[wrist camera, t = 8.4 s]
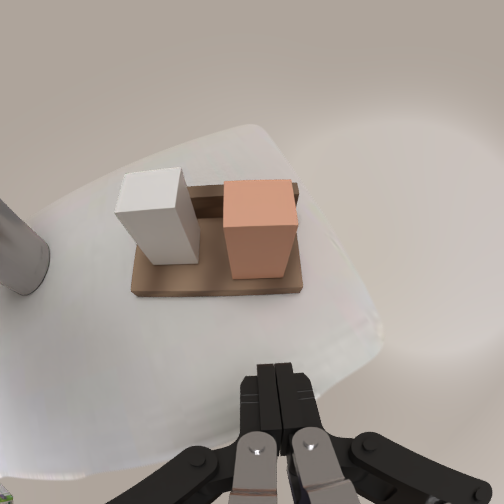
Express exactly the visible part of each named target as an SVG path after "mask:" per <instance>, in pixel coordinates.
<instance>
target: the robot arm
mask: <svg viewBox="0 0 504 504" xmlns="http://www.w3.org/2000/svg"><path fill="white" fill-rule="evenodd" d="M48 264H49V248H48V245H47V243H46V242H45V241H44V240H43V239H42V238H41V237H40V236H38V235H37V234H36V233H35V232H34V231H33V230H32V229H31V228H30V227H29V226H28V225H27V224H25V223H24V222H23V221H22V220H21V219H20V218H19V217H18V216H17V215H16V214H15V213H14V212H13V211H12V210H11V209H10V208H9V207H8V206H7V205H6V204H5V203H4V202H3V201H2V200H1V199H0V283H1V284H3V285H4V286H6V287H8V288H10V289H11V290H13V291H15V292H17V293H19V294H21V295H27V294H30V293H31V292H33V291H34V290H35V289H36V288H37V287H38V286H39V285H40V283H41V282H42V280H43V278H44V276H45V274H46V271H47V268H48ZM279 451H280V454H281V456H287V464H288V465H287V474H288V479H289V483H290V487H291V492H292V496H293V501H294V504H360V502H359V499H358V496H357V494H359V495H360V496H362V497H364V498H366V499H368V500H369V501H371V502H373V503H375V504H488V503H489V502H490V500H491V497H492V488H491V486H490V484H489V483H487V482H485V481H483V480H480V479H477V478H474V477H471V476H469V475H466V474H463V473H461V472H458V471H456V470H453V469H451V468H448V467H446V466H444V465H441V464H439V463H437V462H434V461H432V460H430V459H428V458H426V457H423V456H421V455H419V454H417V453H415V452H413V451H411V450H409V449H407V448H405V447H403V446H401V445H399V444H397V443H395V442H393V441H391V440H389V439H387V438H385V437H384V436H382V435H380V434H378V433H375V432H365V433H361V434H360V435H358V436H357V437H355V439H352V438H340V437H335V436H332V435H330V434H329V433H327V432H326V431H325V430H324V428H323V426H322V424H321V420H320V416H319V412H318V408H317V405H316V401H315V398H314V393H313V389H312V385H311V382H310V380H309V378H308V377H307V376H306V375H305V374H304V373H293V369H292V364H291V362H290V363H275V364H274V365H273V364H257V376H245V378H244V380H243V381H242V383H241V385H240V434H239V437H238V439H237V440H236V441H235V442H234V443H233V444H231V445H229V446H227V447H224V448H221V449H216V450H211V449H209V448H207V447H203V446H192V447H189V448H187V449H185V450H183V451H182V452H181V453H180V454H178V455H177V456H176V457H174V458H173V459H172V460H170V461H169V462H168V463H166V464H165V465H164V466H162V467H161V468H160V469H158V470H157V471H155V472H154V473H153V474H151V475H150V476H148V477H147V478H145V479H144V480H142V481H141V482H139V483H138V484H136V485H135V486H133V487H132V488H130V489H129V490H127V491H125V492H124V493H122V494H121V495H119V496H117V497H116V498H114V499H113V500H111V501H109V502H107V503H106V504H211V503H212V502H213V501H214V500H216V499H217V498H218V497H219V496H220V495H221V494H222V493H224V492H228V491H231V492H230V496H229V503H228V504H277V488H276V484H277V483H276V482H277V474H276V473H277V456H279ZM356 493H357V494H356Z"/></svg>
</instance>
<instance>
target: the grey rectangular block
mask: <svg viewBox="0 0 504 504" xmlns="http://www.w3.org/2000/svg"><path fill="white" fill-rule="evenodd" d="M114 213H115V215H116V216H117V218H118V219H119V220H120V222H121V223H122V225H123V226H124V227H125V229H126V230H127V231H128V233H129V234H130V235H131V237H132V238H133V239H134V241H135V242H136V243H137V245H138V246H139V247H140V249H141V250H142V251H143V252H144V254H145V255H146V256H147V258H148V259H149V260H150V261H151V263H152V264H153V265H168V264H199V244H200V227H199V224H198V221H197V218H196V215H195V212H194V208H193V205H192V202H191V199H190V195H189V192H188V189H187V185H186V182H185V179H184V175H183V172H182V168H181V167H176V168H166V169H157V170H148V171H140V172H133V173H126V174H125V176H124V179H123V182H122V186H121V189H120V192H119V196H118V200H117V203H116V207H115V211H114Z"/></svg>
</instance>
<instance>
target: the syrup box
mask: <svg viewBox="0 0 504 504" xmlns="http://www.w3.org/2000/svg"><path fill="white" fill-rule="evenodd" d="M0 504H13V496H12V495H11V494H10V493H9V492H8V491H7V490H6V489H5V487H3V485H2V484H1V483H0Z"/></svg>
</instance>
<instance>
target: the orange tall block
mask: <svg viewBox="0 0 504 504" xmlns="http://www.w3.org/2000/svg"><path fill="white" fill-rule="evenodd" d="M297 228H298V219H297V212H296V206H295V199H294V193H293V187H292V181H291V180H242V181H224V207H223V229H224V235H225V240H226V246H227V252H228V257H229V262H230V268H231V273H232V279H258V278H281V277H283V276H284V272H285V269H286V266H287V262H288V259H289V256H290V252H291V249H292V245H293V242H294V238H295V235H296V231H297Z"/></svg>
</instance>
